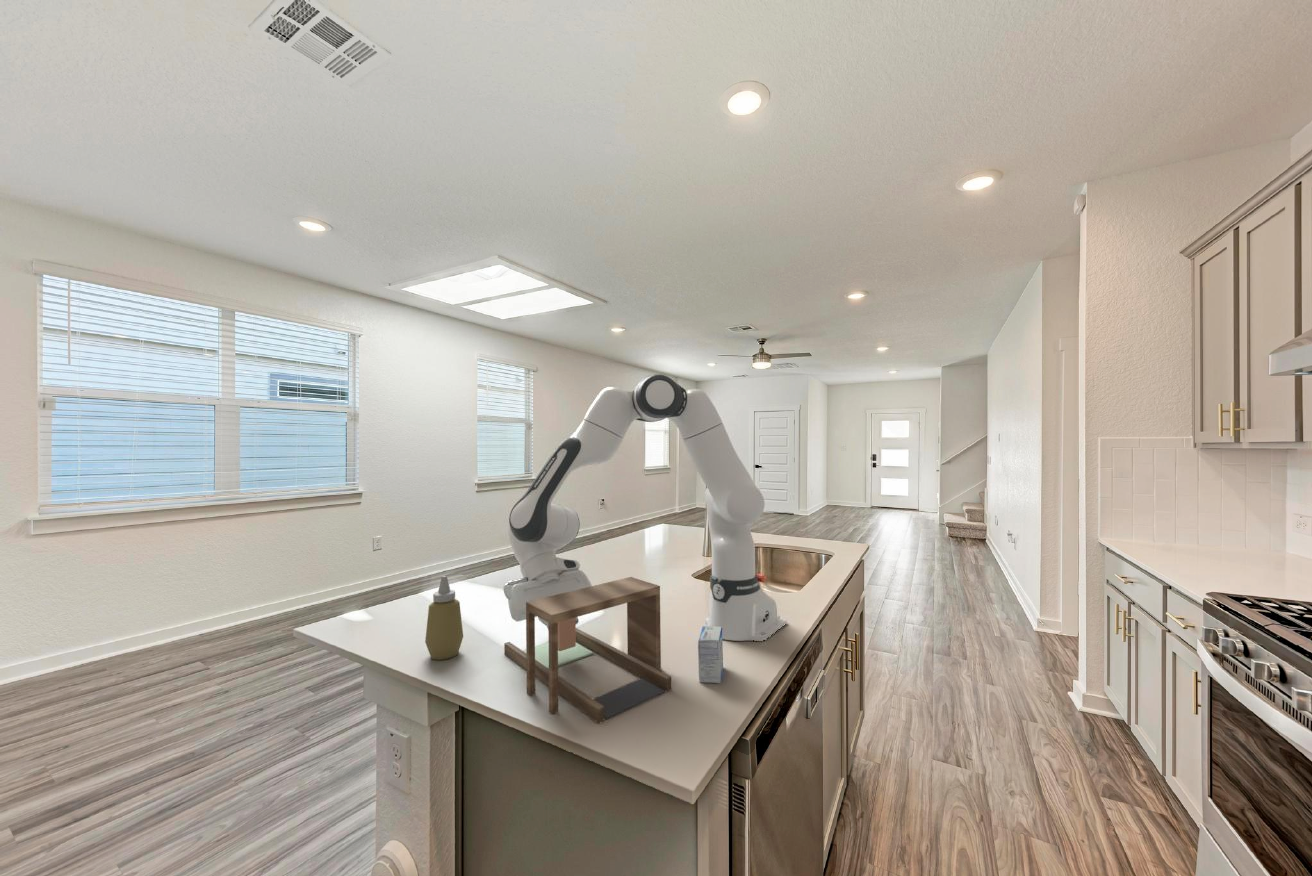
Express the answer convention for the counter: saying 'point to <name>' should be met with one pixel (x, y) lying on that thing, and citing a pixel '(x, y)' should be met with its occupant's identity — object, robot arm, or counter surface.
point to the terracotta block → (566, 634)
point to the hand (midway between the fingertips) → (564, 627)
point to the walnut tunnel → (584, 601)
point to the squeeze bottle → (444, 623)
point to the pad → (560, 654)
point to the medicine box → (710, 654)
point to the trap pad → (628, 697)
